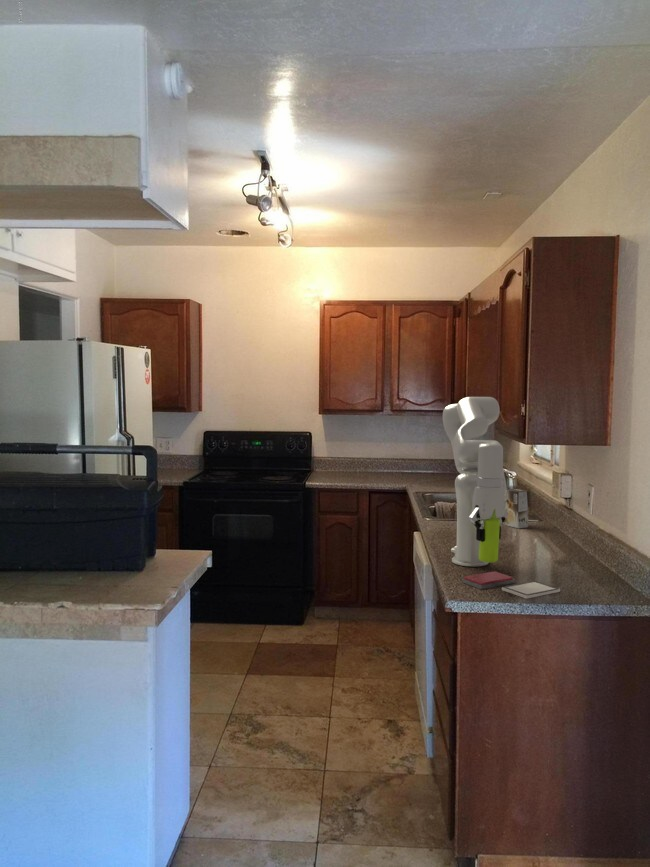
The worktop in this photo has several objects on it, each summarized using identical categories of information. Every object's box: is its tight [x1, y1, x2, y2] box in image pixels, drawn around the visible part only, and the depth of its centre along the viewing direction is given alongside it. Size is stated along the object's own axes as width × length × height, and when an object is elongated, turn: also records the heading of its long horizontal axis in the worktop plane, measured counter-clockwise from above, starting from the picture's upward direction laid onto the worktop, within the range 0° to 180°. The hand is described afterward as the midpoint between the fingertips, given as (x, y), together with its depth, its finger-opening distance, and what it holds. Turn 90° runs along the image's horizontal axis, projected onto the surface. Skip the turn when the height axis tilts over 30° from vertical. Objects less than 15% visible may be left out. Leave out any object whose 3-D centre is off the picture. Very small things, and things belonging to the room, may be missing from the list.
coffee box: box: [504, 488, 530, 529], centre depth 309 cm, size 9×6×16 cm
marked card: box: [501, 580, 561, 600], centre depth 212 cm, size 10×14×1 cm
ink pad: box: [461, 571, 516, 590], centre depth 221 cm, size 9×14×2 cm, turn 120°
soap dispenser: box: [479, 509, 500, 563], centre depth 220 cm, size 6×7×20 cm
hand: (488, 539), depth 221 cm, fingers closed on soap dispenser, 5 cm apart
